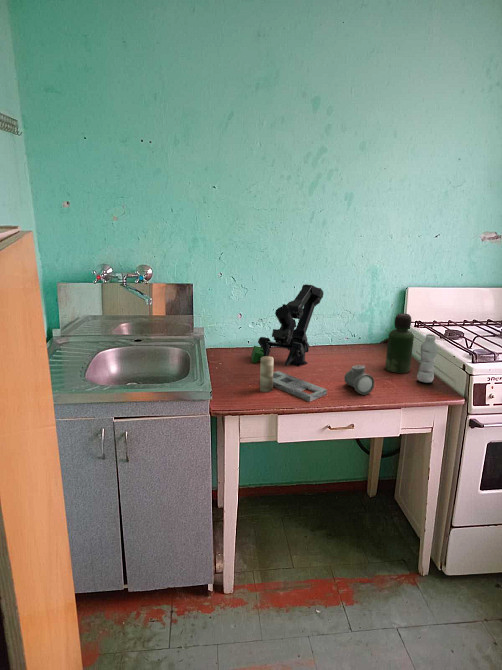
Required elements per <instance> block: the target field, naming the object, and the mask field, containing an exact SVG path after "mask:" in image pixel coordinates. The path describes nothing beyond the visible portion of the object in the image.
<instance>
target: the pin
mask: <svg viewBox="0 0 502 670" xmlns="http://www.w3.org/2000/svg"><path fill="white" fill-rule="evenodd" d="M274 361H275V360H274V357H273V356H270V355H269V356H263V357H261V361H260V365H259V366H260V368H259V369H260V370H259V371H260V372H259V391H260V392H262V393H270V392H273V389H274V386H273V372H274Z"/></svg>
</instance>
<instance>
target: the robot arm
mask: <svg viewBox="0 0 502 670" xmlns="http://www.w3.org/2000/svg"><path fill="white" fill-rule="evenodd" d="M323 298H324V291H323V290H322V287H317V286H315V285H313V284H306V283H305V284H303V285H302V287H301V289H300V290H299V292H298V293H297V295H296V296H295V298H294V299H293V300H291V301H289V302H288V303H286V304H284V303H283V304H282V306H279V307H278V308H277V309H276V310H275V313H274V315H275V317H276V319H277V320H278V322H279V324H280V328H278V329H275V328H273V329H272V331H271V332H272V333H271V338H273V340H274V341H271V340H270V337H267V336H260V337H258V341H257V343H258V344H259V347H261V348H263V351H264V356H270V353H271V348H272V347H273V348H274V347H275V348H280V349H287V351H289V353H288V356H287V358H286V359H285V364H284V366H285V367H288V365H293V366H296V367H301V366H303V365H306V364H308V361H306V353H309V352H310V351H309V350H310V343H309V342H308V337H307V331H308V328H309V324H310V322H311V318H312V316H313V313H314V309H315V307H316V306H318V305H319V304H320V303H321V301H322V299H323ZM296 320H298V322H297V321H296Z"/></svg>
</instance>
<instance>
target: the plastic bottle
mask: <svg viewBox="0 0 502 670" xmlns="http://www.w3.org/2000/svg"><path fill="white" fill-rule="evenodd" d="M436 337H437V336H436V335H435V334H430V333H429V334H428V333H427V334H425V341H424V342H423V343H421V345H420V364H419V366H418V367H419V368H418V371H417V373H416V376H417V377H416V378H417V380H418V381H419V382H421V383H425V384H429V383H432V382H433V381H434V378H435V371H434V368H435V361H436V357H437V353H438V346H437V344H436V342H435V341H436Z"/></svg>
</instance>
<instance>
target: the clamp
mask: <svg viewBox="0 0 502 670" xmlns="http://www.w3.org/2000/svg"><path fill="white" fill-rule="evenodd" d="M250 356H251V363H253V364H258V362H261V357H263V356H264V351H263V348H261V346H257V345H253V348H252V351H251V355H250Z"/></svg>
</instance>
